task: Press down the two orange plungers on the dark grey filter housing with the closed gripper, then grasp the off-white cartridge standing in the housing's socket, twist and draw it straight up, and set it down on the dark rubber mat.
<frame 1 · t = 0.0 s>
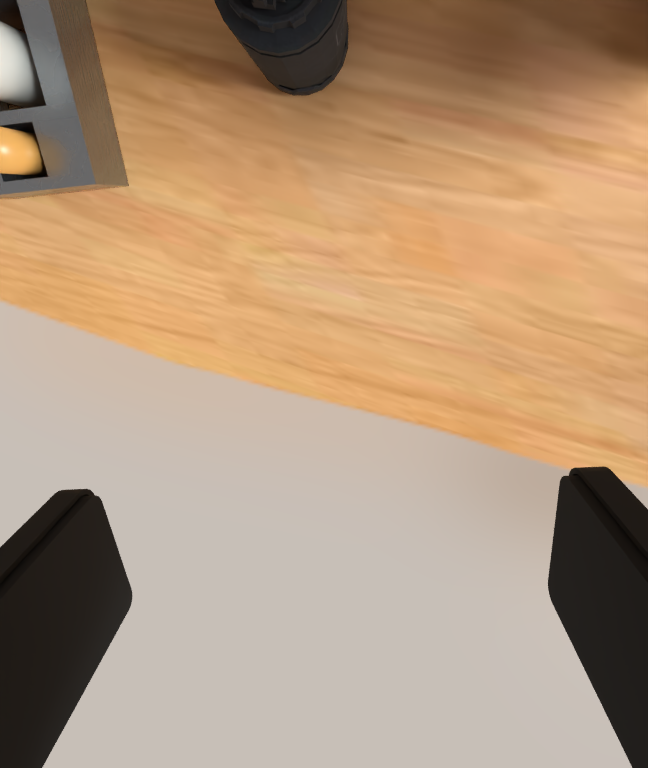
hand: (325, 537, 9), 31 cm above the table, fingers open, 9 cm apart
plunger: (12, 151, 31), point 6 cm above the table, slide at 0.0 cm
housing: (38, 76, 34), on the table
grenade: (302, 41, 32), on the table
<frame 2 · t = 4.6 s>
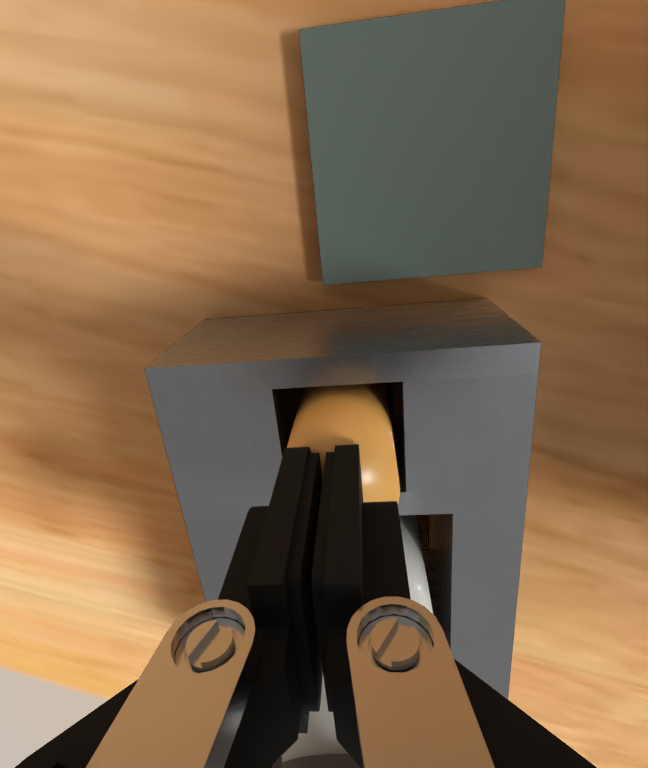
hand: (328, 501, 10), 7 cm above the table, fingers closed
housing: (356, 496, 19), on the table
cartridge: (355, 619, 14), in the housing
mat: (426, 158, 14), on the table
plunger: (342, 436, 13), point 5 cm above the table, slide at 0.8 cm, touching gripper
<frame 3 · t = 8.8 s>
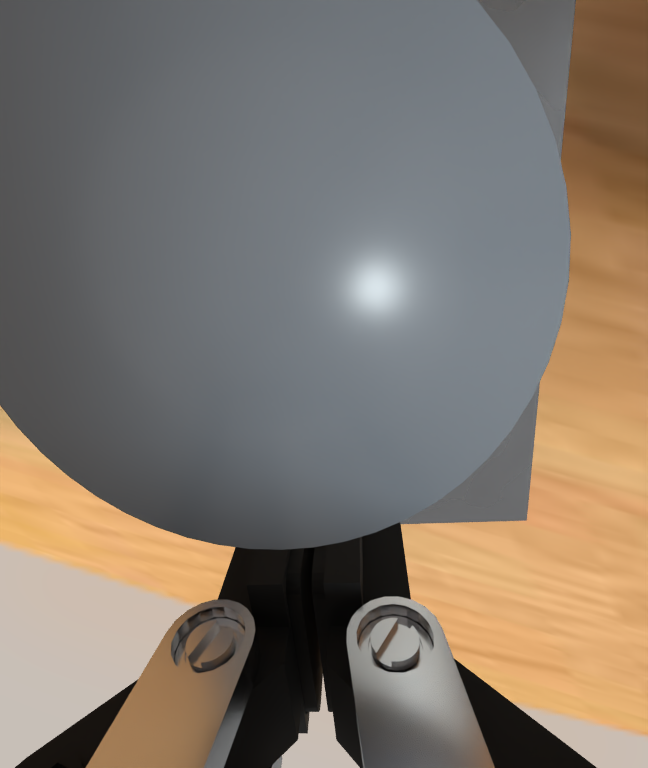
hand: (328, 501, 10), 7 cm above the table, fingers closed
housing: (330, 220, 14), on the table
cartridge: (313, 236, 9), in the housing
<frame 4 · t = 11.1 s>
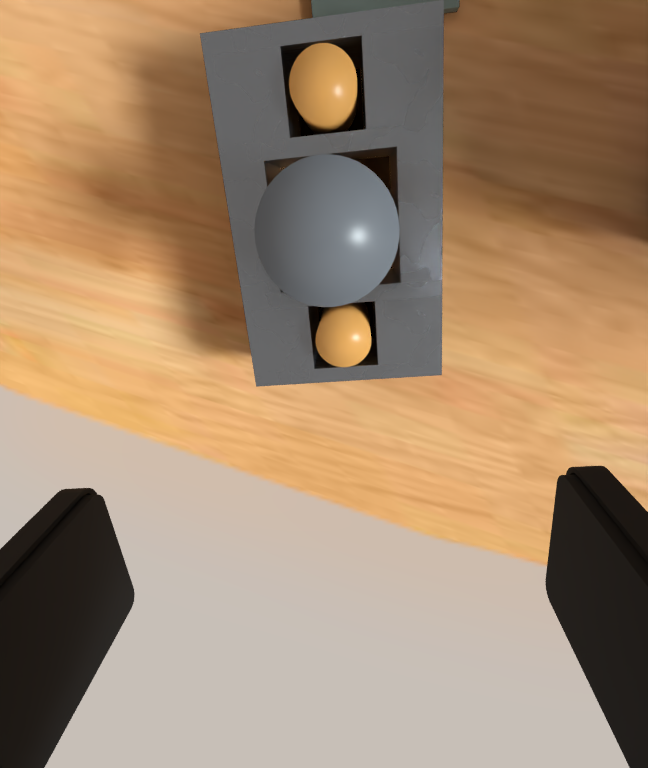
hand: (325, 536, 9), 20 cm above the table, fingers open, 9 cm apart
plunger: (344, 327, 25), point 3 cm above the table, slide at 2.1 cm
housing: (338, 219, 26), on the table
cartridge: (334, 225, 20), in the housing
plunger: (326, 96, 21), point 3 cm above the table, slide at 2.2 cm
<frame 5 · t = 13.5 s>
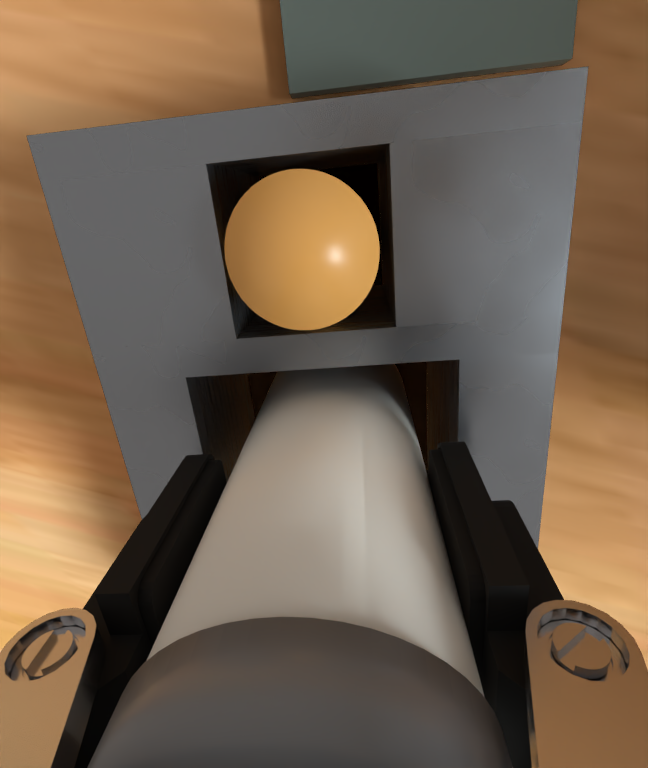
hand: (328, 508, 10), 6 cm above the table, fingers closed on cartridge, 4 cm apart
housing: (338, 399, 16), on the table
cartridge: (328, 511, 10), in the housing, touching gripper
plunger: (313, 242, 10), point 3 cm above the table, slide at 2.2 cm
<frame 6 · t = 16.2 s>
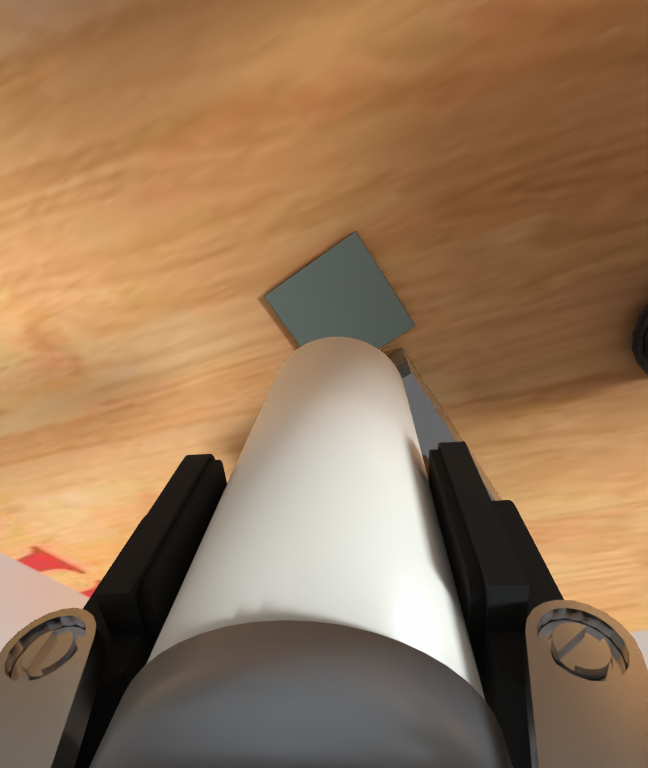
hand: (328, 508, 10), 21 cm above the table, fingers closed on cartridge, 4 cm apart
housing: (400, 469, 34), on the table
cartridge: (328, 512, 10), point 21 cm above the table, touching gripper
mat: (340, 309, 30), on the table
when the fingers open (8 cm above the table, at t = 19.1 s): cartridge drops 2 cm, resting on mat.
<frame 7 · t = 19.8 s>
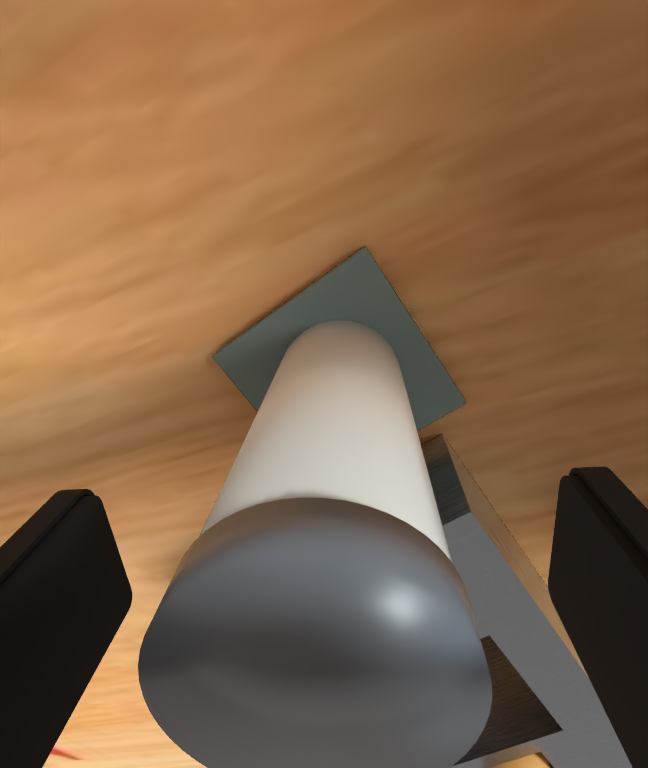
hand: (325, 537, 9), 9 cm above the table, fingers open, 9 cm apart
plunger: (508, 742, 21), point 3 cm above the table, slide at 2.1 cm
housing: (434, 604, 22), on the table
cartridge: (332, 462, 12), on the mat, point 7 cm above the table
mat: (340, 374, 18), on the table
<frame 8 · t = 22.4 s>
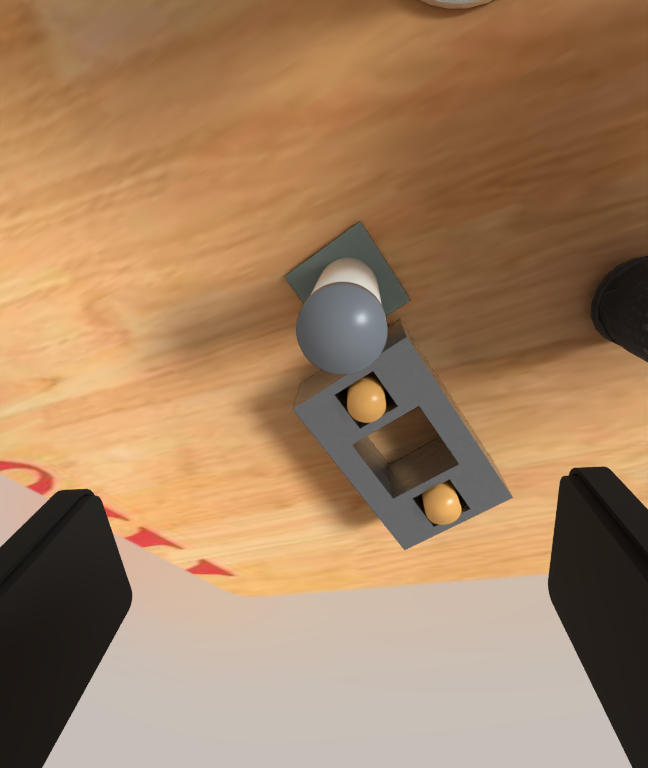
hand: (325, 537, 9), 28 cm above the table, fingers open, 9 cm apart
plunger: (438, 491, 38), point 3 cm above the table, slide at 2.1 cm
housing: (399, 424, 40), on the table
cartridge: (345, 305, 29), on the mat, point 7 cm above the table
mat: (347, 287, 35), on the table
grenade: (624, 294, 34), on the table
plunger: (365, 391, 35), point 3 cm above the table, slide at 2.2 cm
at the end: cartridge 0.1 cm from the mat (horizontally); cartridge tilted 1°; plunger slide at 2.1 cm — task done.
